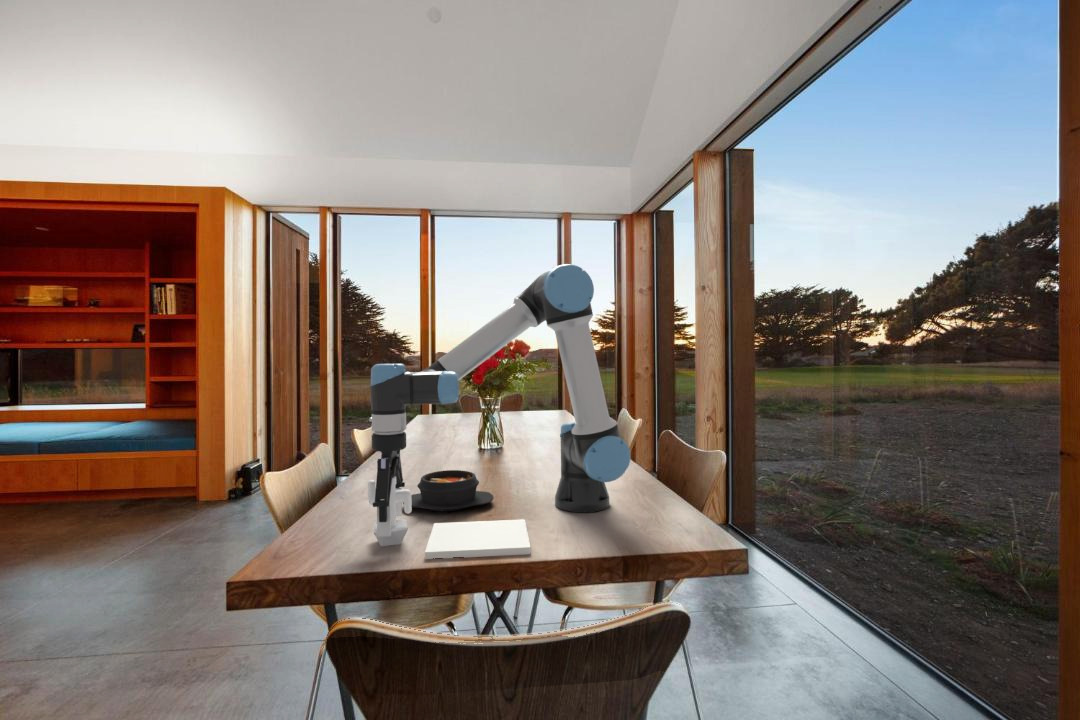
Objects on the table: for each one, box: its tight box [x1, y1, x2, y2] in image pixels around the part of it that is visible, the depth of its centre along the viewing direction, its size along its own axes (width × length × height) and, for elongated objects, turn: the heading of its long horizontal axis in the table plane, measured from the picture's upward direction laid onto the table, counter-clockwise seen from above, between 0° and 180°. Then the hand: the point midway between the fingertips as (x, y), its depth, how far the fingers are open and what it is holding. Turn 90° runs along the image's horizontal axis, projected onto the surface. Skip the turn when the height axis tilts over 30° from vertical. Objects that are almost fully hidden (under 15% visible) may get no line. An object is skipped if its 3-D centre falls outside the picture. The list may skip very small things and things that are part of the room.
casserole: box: [402, 469, 495, 512], centre depth 144 cm, size 25×19×8 cm
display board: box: [424, 519, 532, 560], centre depth 117 cm, size 22×18×2 cm
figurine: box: [367, 476, 413, 547], centre depth 117 cm, size 7×9×15 cm
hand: (390, 525), depth 117 cm, fingers open, 13 cm apart
